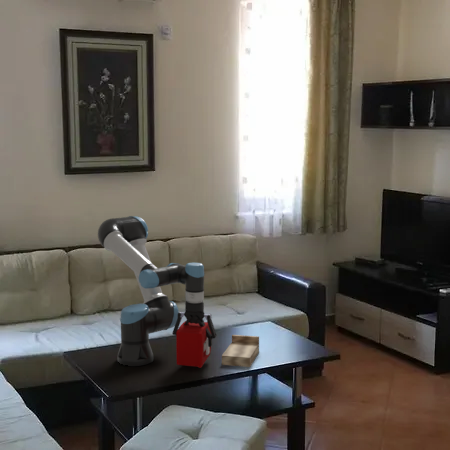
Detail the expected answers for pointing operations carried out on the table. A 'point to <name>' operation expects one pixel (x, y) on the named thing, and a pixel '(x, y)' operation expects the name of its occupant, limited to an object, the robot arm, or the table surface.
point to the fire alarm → (191, 344)
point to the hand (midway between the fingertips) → (194, 352)
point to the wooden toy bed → (241, 351)
